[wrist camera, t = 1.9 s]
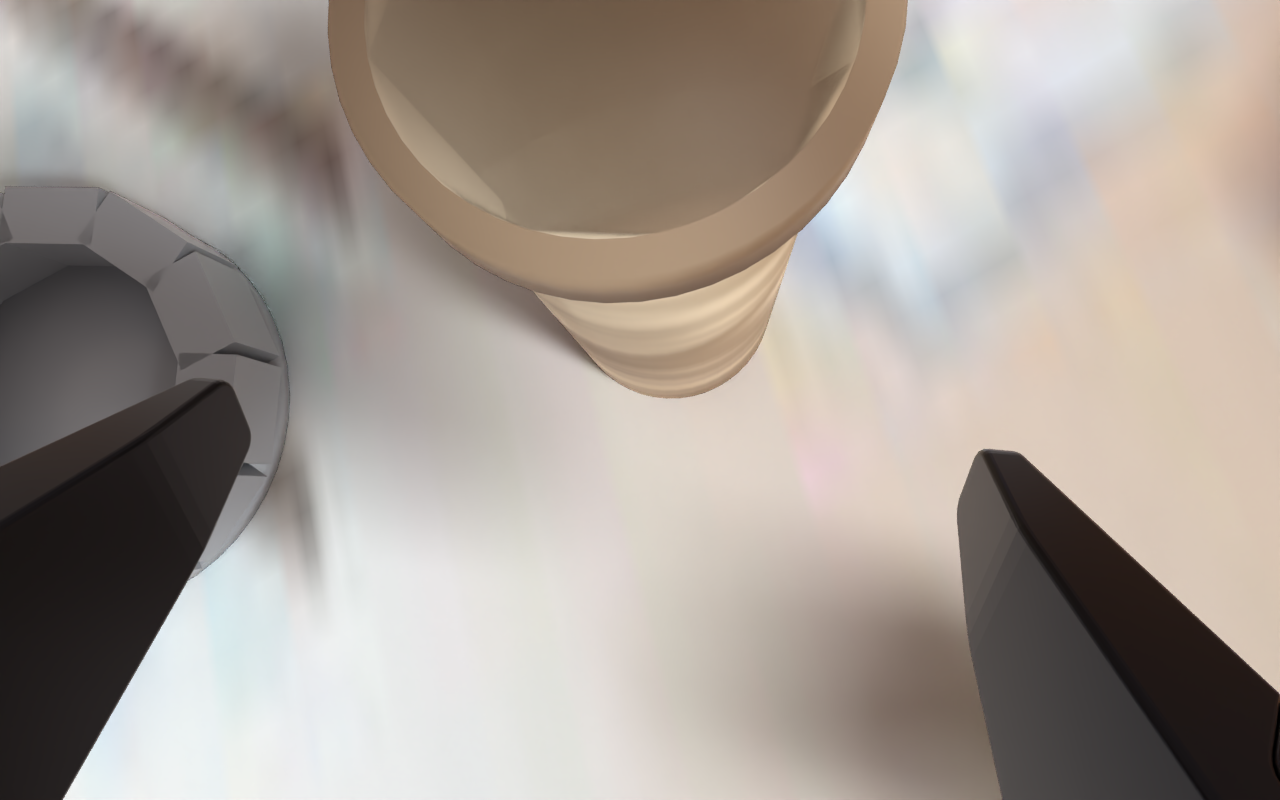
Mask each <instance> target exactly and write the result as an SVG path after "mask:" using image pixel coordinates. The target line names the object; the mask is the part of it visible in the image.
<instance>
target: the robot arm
mask: <svg viewBox="0 0 1280 800" xmlns="http://www.w3.org/2000/svg"><path fill="white" fill-rule="evenodd" d="M250 444H251V430H250V427H249V424H248V422H247V419H246V417H245V414H244V412H243V409H242V407H241V405H240V402H239V400H238V397H237V395H236V392H235V390H234V388H233V386H232V385H231V384H230V383H228V382H227V381H225V380H222V379H211V378H191V379H188V380H186V381H184V382H182V383H180V384H177V385H175V386H173V387H171V388H169V389H167V390H164V391H162V392H160V393H158V394H156V395H154V396H151V397H149V398H147V399H145V400H143V401H141V402H139V403H136V404H134V405H132V406H130V407H128V408H126V409H123V410H121V411H119V412H117V413H115V414H113V415H110V416H108V417H106V418H104V419H102V420H100V421H97V422H95V423H93V424H91V425H89V426H87V427H84V428H82V429H80V430H78V431H76V432H74V433H72V434H69V435H67V436H65V437H63V438H61V439H59V440H56V441H54V442H52V443H50V444H48V445H46V446H43V447H41V448H39V449H37V450H35V451H33V452H30V453H28V454H26V455H24V456H22V457H20V458H17V459H15V460H13V461H11V462H9V463H7V464H5V465H2V466H0V800H63V798H64V797H65V795H66V793H67V791H68V790H69V788H70V786H71V784H72V783H73V781H74V779H75V777H76V776H77V774H78V772H79V770H80V769H81V767H82V765H83V763H84V762H85V760H86V758H87V756H88V755H89V753H90V751H91V749H92V748H93V746H94V744H95V742H96V741H97V739H98V737H99V735H100V734H101V732H102V730H103V728H104V727H105V725H106V723H107V721H108V720H109V718H110V716H111V714H112V713H113V711H114V709H115V707H116V706H117V704H118V702H119V700H120V699H121V697H122V695H123V693H124V692H125V690H126V688H127V686H128V685H129V683H130V681H131V679H132V678H133V676H134V674H135V672H136V671H137V669H138V667H139V665H140V664H141V662H142V660H143V658H144V657H145V655H146V653H147V651H148V650H149V648H150V646H151V644H152V643H153V641H154V639H155V637H156V636H157V634H158V632H159V630H160V629H161V627H162V625H163V623H164V622H165V620H166V618H167V616H168V615H169V613H170V611H171V609H172V608H173V606H174V604H175V602H176V601H177V599H178V597H179V595H180V594H181V592H182V590H183V588H184V587H185V585H186V583H187V581H188V580H189V578H190V576H191V574H192V573H193V571H194V569H195V567H196V565H197V563H198V562H199V560H200V558H201V556H202V554H203V552H204V550H205V548H206V546H207V544H208V542H209V540H210V538H211V536H212V533H213V531H214V529H215V527H216V524H217V522H218V520H219V517H220V515H221V513H222V511H223V508H224V506H225V504H226V501H227V499H228V497H229V494H230V492H231V490H232V488H233V485H234V483H235V481H236V478H237V476H238V474H239V472H240V469H241V467H242V465H243V462H244V460H245V458H246V456H247V453H248V451H249V448H250ZM957 525H958V536H959V547H960V558H961V570H962V581H963V592H964V603H965V615H966V624H967V633H968V640H969V646H970V651H971V657H972V661H973V666H974V671H975V675H976V680H977V685H978V689H979V694H980V698H981V703H982V708H983V712H984V717H985V722H986V726H987V731H988V735H989V740H990V745H991V749H992V754H993V758H994V763H995V768H996V772H997V777H998V782H999V786H1000V791H1001V795H1002V800H1280V694H1279V693H1278V692H1277V691H1276V690H1275V689H1274V688H1273V687H1272V686H1271V685H1270V684H1269V683H1268V682H1266V681H1265V680H1264V679H1263V678H1262V677H1261V676H1260V675H1259V674H1258V673H1257V672H1256V671H1255V670H1253V669H1252V668H1251V667H1250V666H1249V665H1248V664H1247V663H1246V662H1245V661H1244V660H1243V659H1242V658H1241V657H1239V656H1238V655H1237V654H1236V653H1235V652H1234V651H1233V650H1232V649H1231V648H1230V647H1229V646H1228V645H1227V644H1225V643H1224V642H1223V641H1222V640H1221V639H1220V638H1219V637H1218V636H1217V635H1216V634H1215V633H1214V632H1213V631H1211V630H1210V629H1209V628H1208V627H1207V626H1206V625H1205V624H1204V623H1203V622H1202V621H1201V620H1200V619H1199V618H1197V617H1196V616H1195V615H1194V614H1193V613H1192V612H1191V611H1190V610H1189V609H1188V608H1187V607H1186V606H1185V605H1183V604H1182V603H1181V602H1180V601H1179V600H1178V599H1177V598H1176V597H1175V596H1174V595H1173V594H1172V593H1170V592H1169V591H1168V590H1167V589H1166V588H1165V587H1164V586H1163V585H1162V584H1161V583H1160V582H1159V581H1158V580H1156V579H1155V578H1154V577H1153V576H1152V575H1151V574H1150V573H1149V572H1148V571H1147V570H1146V569H1145V568H1144V567H1142V566H1141V565H1140V564H1139V563H1138V562H1137V561H1136V560H1135V559H1134V558H1133V557H1132V556H1131V555H1130V554H1128V553H1127V552H1126V551H1125V550H1124V549H1123V548H1122V547H1121V546H1120V545H1119V544H1118V543H1117V542H1116V541H1114V540H1113V539H1112V538H1111V537H1110V536H1109V535H1108V534H1107V533H1106V532H1105V531H1104V530H1103V529H1102V528H1100V527H1099V526H1098V525H1097V524H1096V523H1095V522H1094V521H1093V520H1092V519H1091V518H1090V517H1089V516H1087V515H1086V514H1085V513H1084V512H1083V511H1082V510H1081V509H1080V508H1079V507H1078V506H1077V505H1076V504H1075V503H1073V502H1072V501H1071V500H1070V499H1069V498H1068V497H1067V496H1066V495H1065V494H1064V493H1063V492H1062V491H1061V490H1059V489H1058V488H1057V487H1056V486H1055V485H1054V484H1053V483H1052V482H1051V481H1050V480H1049V479H1048V478H1047V477H1045V476H1044V475H1043V474H1042V473H1041V472H1040V471H1039V470H1038V469H1037V468H1036V467H1035V466H1034V465H1033V464H1031V463H1030V462H1029V461H1028V460H1027V459H1026V458H1025V457H1024V456H1023V455H1021V454H1020V453H1018V452H1014V451H1005V450H994V449H983V450H981V451H979V452H978V454H977V455H976V456H975V458H974V461H973V463H972V466H971V469H970V471H969V474H968V477H967V479H966V482H965V485H964V487H963V490H962V493H961V495H960V498H959V502H958V508H957Z"/></svg>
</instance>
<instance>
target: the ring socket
mask: <svg viewBox="0 0 1280 800" xmlns="http://www.w3.org/2000/svg"><path fill="white" fill-rule="evenodd" d="M191 378H211V379H222V380H225V381H227V382H228V383H230V384H231V385H232V386H233V388H234V390H235V392H236V395H237V397H238V400H239V402H240V405H241V407H242V409H243V412H244V414H245V417H246V419H247V422H248V424H249V427H250V430H251V444H250V448H249V451H248V453H247V456H246V458H245V460H244V462H243V465H242V467H241V469H240V472H239V474H238V476H237V478H236V481H235V483H234V485H233V488H232V490H231V492H230V494H229V497H228V499H227V501H226V504H225V506H224V508H223V511H222V513H221V515H220V517H219V520H218V522H217V524H216V527H215V529H214V531H213V533H212V536H211V538H210V540H209V542H208V544H207V546H206V548H205V550H204V552H203V554H202V556H201V558H200V560H199V562H198V563H197V565H196V567H195V569H194V571H193V573H192V574H191V576H190V578H189V580H190V579H191V578H193V577H195V576H196V575H198V574H199V573H200V572H201V571H203V570H204V569H205V568H206V567H208V566H209V565H210V564H211V563H213V562H214V561H215V560H216V559H218V558H219V557H220V556H221V555H222V554H223V553H224V552H225V550H226V549H227V548H228V547H229V546H230V545H231V544H232V543H233V542H234V541H235V540H236V539H237V538H238V537H239V535H240V534H241V533H242V531H243V530H244V529H245V527H246V526H247V525H248V523H249V522H250V521H251V519H252V518H253V516H254V515H255V513H256V511H257V510H258V508H259V506H260V504H261V503H262V501H263V499H264V498H265V496H266V494H267V492H268V489H269V487H270V485H271V482H272V480H273V478H274V475H275V473H276V471H277V468H278V465H279V461H280V458H281V454H282V451H283V447H284V444H285V438H286V432H287V426H288V419H289V398H290V390H289V379H288V367H287V362H286V358H285V354H284V349H283V345H282V341H281V338H280V336H279V333H278V330H277V327H276V325H275V322H274V319H273V317H272V316H271V314H270V312H269V310H268V308H267V306H266V304H265V302H264V301H263V299H262V297H261V296H260V294H259V293H258V292H257V290H256V289H255V288H254V286H253V285H252V283H251V282H250V281H249V279H248V278H247V277H246V276H245V275H244V274H243V273H242V272H241V271H240V270H239V269H238V268H237V267H236V266H235V264H234V263H232V262H231V261H230V260H228V259H227V258H226V257H225V256H223V255H222V254H221V253H219V252H218V251H217V250H215V249H214V248H212V247H211V246H209V245H207V244H205V243H204V242H202V241H200V240H198V239H196V238H195V237H193V236H191V235H189V234H188V233H186V232H185V231H183V230H182V229H180V228H179V227H177V226H176V225H174V224H173V223H171V222H170V221H168V220H167V219H165V218H163V217H161V216H159V215H157V214H155V213H153V212H151V211H149V210H147V209H145V208H143V207H141V206H139V205H138V204H136V203H134V202H132V201H130V200H128V199H126V198H124V197H122V196H120V195H118V194H116V193H114V192H112V191H110V192H107V191H105V190H103V189H101V188H97V187H10V186H5V193H4V194H3V193H1V192H0V466H2V465H5V464H7V463H9V462H11V461H13V460H15V459H17V458H20V457H22V456H24V455H26V454H28V453H30V452H33V451H35V450H37V449H39V448H41V447H43V446H46V445H48V444H50V443H52V442H54V441H56V440H59V439H61V438H63V437H65V436H67V435H69V434H72V433H74V432H76V431H78V430H80V429H82V428H84V427H87V426H89V425H91V424H93V423H95V422H97V421H100V420H102V419H104V418H106V417H108V416H110V415H113V414H115V413H117V412H119V411H121V410H123V409H126V408H128V407H130V406H132V405H134V404H136V403H139V402H141V401H143V400H145V399H147V398H149V397H151V396H154V395H156V394H158V393H160V392H162V391H164V390H167V389H169V388H171V387H173V386H175V385H177V384H180V383H182V382H184V381H186V380H188V379H191Z"/></svg>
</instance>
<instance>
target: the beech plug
mask: <svg viewBox="0 0 1280 800" xmlns="http://www.w3.org/2000/svg"><path fill="white" fill-rule="evenodd" d="M907 3H908V0H329V10H328V39H329V49H330V59H331V67H332V71H333V75H334V79H335V84H336V88H337V92H338V96H339V100H340V102H341V105H342V107H343V110H344V112H345V115H346V117H347V120H348V122H349V125H350V127H351V130H352V132H353V134H354V136H355V137H356V139H357V141H358V143H359V144H360V146H361V148H362V150H363V151H364V153H365V155H366V157H367V158H368V160H369V162H370V163H371V164H372V166H373V167H374V168H375V170H376V171H377V172H378V173H379V175H380V176H381V177H382V179H383V180H384V181H385V182H386V184H387V185H388V186H389V187H390V189H391V190H392V191H393V192H394V193H395V194H396V195H397V196H398V197H399V198H400V199H401V200H402V201H403V202H404V203H406V204H407V205H408V206H409V207H410V208H411V209H412V210H413V211H414V212H415V213H416V214H417V215H418V216H419V217H420V218H421V219H422V220H423V221H424V222H425V223H426V224H427V225H429V226H430V227H431V228H432V229H433V230H434V231H435V232H436V233H437V234H438V235H439V236H440V237H441V238H442V239H443V240H444V241H445V242H446V243H448V244H449V245H450V246H451V247H452V248H454V249H455V250H456V251H458V252H459V253H460V254H462V255H463V256H465V257H466V258H467V259H469V260H470V261H472V262H473V263H474V264H476V265H477V266H479V267H481V268H483V269H485V270H487V271H488V272H490V273H492V274H494V275H496V276H498V277H500V278H502V279H503V280H505V281H508V282H510V283H513V284H516V285H519V286H521V287H524V288H527V289H529V290H532V291H533V292H534V293H535V294H536V295H537V297H538V298H539V299H540V300H541V301H542V302H543V303H544V305H545V306H546V307H547V308H548V309H549V310H550V311H551V313H552V314H553V315H554V316H555V317H556V318H557V319H558V320H559V322H560V323H561V324H562V325H563V326H564V327H565V328H566V330H567V331H568V332H569V333H570V334H571V335H572V336H573V338H574V339H575V340H576V341H577V342H578V343H579V344H580V345H581V347H582V348H583V349H584V350H585V351H586V352H587V353H588V355H589V356H590V357H591V358H592V359H593V360H594V361H595V363H596V364H597V365H598V366H599V367H600V368H601V369H602V370H603V371H604V372H605V373H606V374H607V375H608V376H609V377H611V378H612V379H614V380H615V381H616V382H618V383H619V384H621V385H623V386H624V387H626V388H628V389H630V390H633V391H635V392H638V393H640V394H644V395H648V396H652V397H658V398H684V397H690V396H695V395H698V394H702V393H705V392H707V391H710V390H712V389H714V388H716V387H718V386H720V385H722V384H723V383H725V382H727V381H728V380H729V379H731V378H732V377H733V376H734V375H736V374H737V373H738V372H739V371H740V370H741V369H742V368H743V367H744V366H745V365H746V364H747V363H748V361H749V360H750V359H751V357H752V356H753V355H754V353H755V352H756V350H757V348H758V346H759V344H760V342H761V340H762V338H763V335H764V332H765V330H766V327H767V324H768V321H769V318H770V315H771V312H772V309H773V306H774V303H775V300H776V297H777V294H778V291H779V288H780V285H781V282H782V279H783V276H784V273H785V270H786V267H787V264H788V261H789V258H790V255H791V252H792V249H793V246H794V243H795V240H796V237H797V234H798V232H800V231H801V230H802V229H803V228H804V227H805V226H806V225H807V224H808V223H809V222H810V221H811V220H812V219H813V218H814V217H815V215H816V214H817V213H818V212H819V211H820V210H821V209H822V208H823V207H824V206H825V205H826V204H827V203H828V201H829V200H830V198H831V197H832V196H833V194H834V193H835V192H836V190H837V189H838V188H839V186H840V185H841V183H842V182H843V181H844V179H845V178H846V177H847V175H848V173H849V171H850V170H851V168H852V166H853V164H854V162H855V160H856V159H857V157H858V155H859V153H860V151H861V149H862V148H863V146H864V144H865V141H866V139H867V137H868V134H869V132H870V130H871V128H872V125H873V123H874V121H875V118H876V116H877V114H878V112H879V109H880V107H881V105H882V102H883V100H884V98H885V95H886V92H887V90H888V87H889V84H890V82H891V79H892V76H893V74H894V71H895V69H896V66H897V63H898V58H899V54H900V50H901V45H902V41H903V36H904V32H905V27H906V15H907Z"/></svg>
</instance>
